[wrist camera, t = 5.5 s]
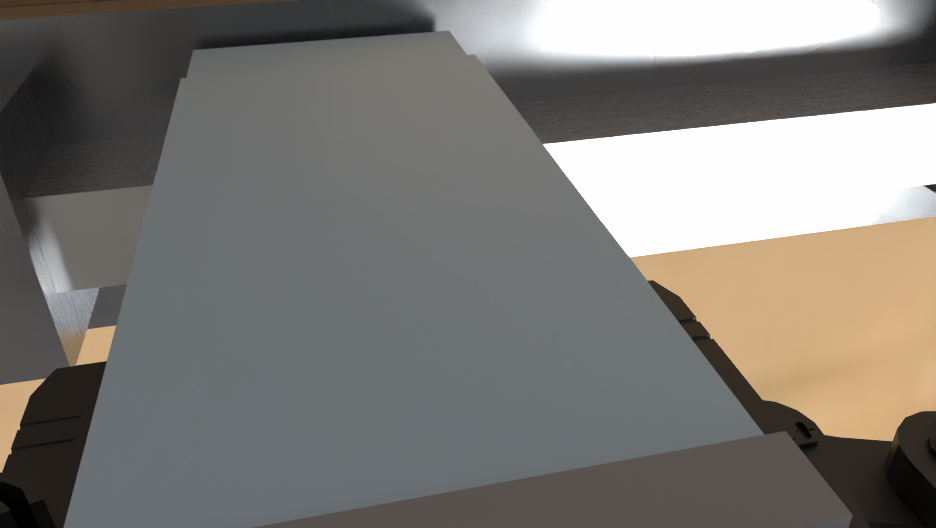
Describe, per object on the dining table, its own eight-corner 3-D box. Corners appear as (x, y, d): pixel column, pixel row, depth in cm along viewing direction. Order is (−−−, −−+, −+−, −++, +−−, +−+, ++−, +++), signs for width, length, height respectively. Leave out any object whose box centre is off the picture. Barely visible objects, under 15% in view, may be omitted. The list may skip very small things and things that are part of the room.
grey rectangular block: (239, 303, 18) (208, 1056, 8) (184, 34, 15) (-8, 690, 4) (459, 274, 19) (710, 908, 8) (453, 14, 16) (852, 515, 5)
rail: (54, 310, 19) (10, 424, 16) (-52, 10, 15) (-140, 77, 12) (933, 197, 23) (1046, 268, 20) (1017, -58, 19) (1174, -23, 16)
